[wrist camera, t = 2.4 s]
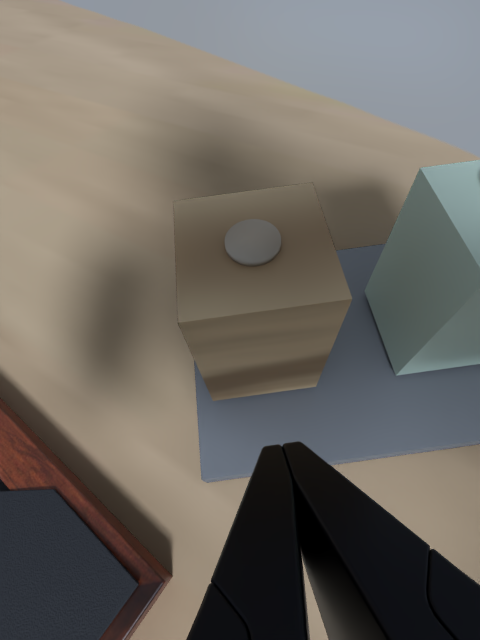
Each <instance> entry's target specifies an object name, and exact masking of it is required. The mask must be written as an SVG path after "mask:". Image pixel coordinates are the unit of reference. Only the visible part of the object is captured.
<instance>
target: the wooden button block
mask: <svg viewBox="0 0 480 640" xmlns="http://www.w3.org/2000/svg"><path fill="white" fill-rule="evenodd" d="M173 209H174V235H175V262H176V288H177V315H178V324H179V327H180V329H181V331H182V333H183V335H184V338H185V340H186V342H187V344H188V347H189V349H190V351H191V353H192V355H193V358H194V360H195V362H196V364H197V367H198V369H199V371H200V373H201V375H202V378H203V380H204V382H205V384H206V387H207V389H208V391H209V393H210V395H211V398H212V400H213V401H216V400H224V399H231V398H238V397H245V396H252V395H260V394H267V393H274V392H281V391H288V390H296V389H303V388H310V387H316V385H317V383H318V381H319V378H320V376H321V373H322V371H323V368H324V366H325V364H326V361H327V359H328V356H329V354H330V352H331V349H332V347H333V344H334V342H335V340H336V337H337V335H338V332H339V330H340V328H341V325H342V323H343V320H344V318H345V315H346V313H347V311H348V308H349V306H350V303H351V301H352V296H351V293H350V290H349V287H348V285H347V282H346V279H345V276H344V273H343V270H342V267H341V264H340V261H339V258H338V255H337V252H336V249H335V247H334V244H333V241H332V238H331V235H330V232H329V229H328V226H327V223H326V220H325V217H324V214H323V211H322V209H321V206H320V203H319V200H318V197H317V194H316V191H315V188H314V185H313V182H311V183H303V184H296V185H288V186H281V187H273V188H266V189H258V190H251V191H243V192H236V193H228V194H221V195H214V196H206V197H199V198H191V199H184V200H176V201H173Z"/></svg>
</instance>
